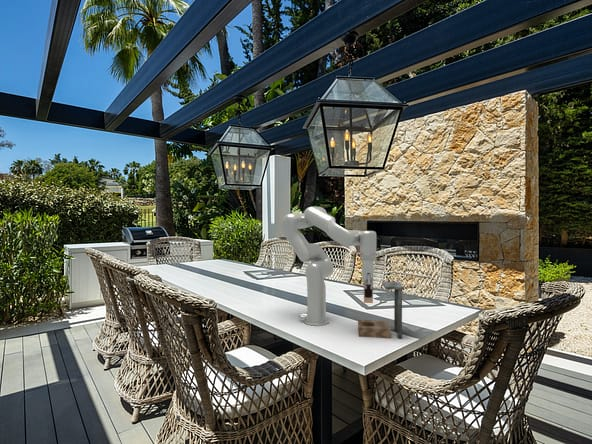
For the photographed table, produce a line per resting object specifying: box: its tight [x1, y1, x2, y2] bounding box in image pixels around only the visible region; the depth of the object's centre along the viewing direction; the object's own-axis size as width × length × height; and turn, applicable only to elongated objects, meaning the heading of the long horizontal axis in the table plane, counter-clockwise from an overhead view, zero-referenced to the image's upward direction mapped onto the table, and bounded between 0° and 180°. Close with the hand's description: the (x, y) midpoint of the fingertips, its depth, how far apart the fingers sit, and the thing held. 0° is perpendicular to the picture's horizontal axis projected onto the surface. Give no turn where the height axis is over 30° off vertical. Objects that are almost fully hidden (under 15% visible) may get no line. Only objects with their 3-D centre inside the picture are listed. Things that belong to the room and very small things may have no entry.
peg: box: [363, 281, 374, 304], centre depth 155 cm, size 4×4×10 cm
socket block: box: [357, 281, 405, 340], centre depth 154 cm, size 20×12×23 cm, turn 81°
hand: (368, 295), depth 155 cm, fingers closed on peg, 4 cm apart
